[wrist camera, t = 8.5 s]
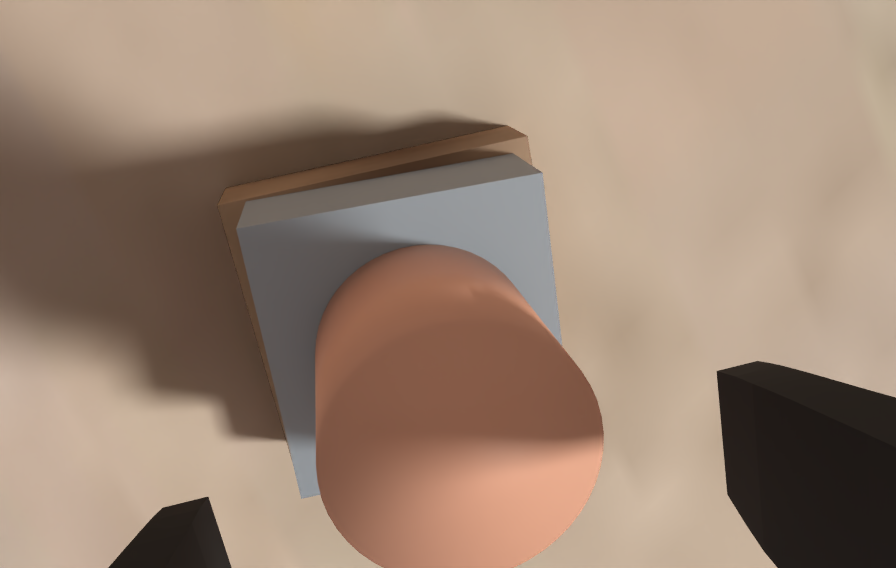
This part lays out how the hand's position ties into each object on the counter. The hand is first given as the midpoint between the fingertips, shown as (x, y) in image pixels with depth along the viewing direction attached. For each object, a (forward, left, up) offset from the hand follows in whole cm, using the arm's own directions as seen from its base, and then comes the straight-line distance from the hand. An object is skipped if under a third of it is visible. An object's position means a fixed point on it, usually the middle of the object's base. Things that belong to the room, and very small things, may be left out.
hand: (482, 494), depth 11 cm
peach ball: (0, 0, -6) cm, 6 cm away
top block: (0, 0, -8) cm, 8 cm away
